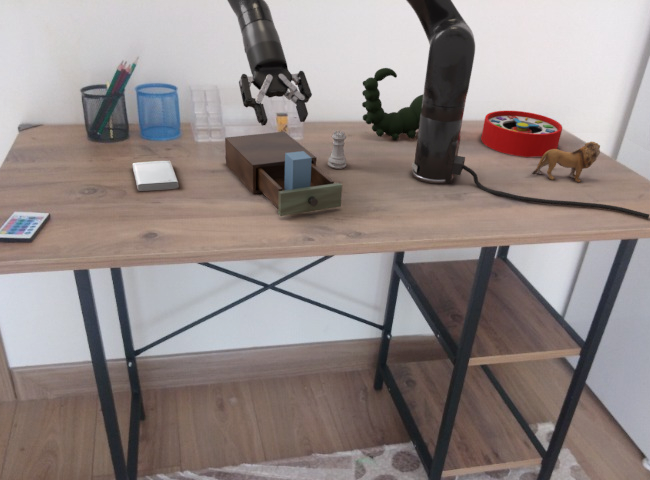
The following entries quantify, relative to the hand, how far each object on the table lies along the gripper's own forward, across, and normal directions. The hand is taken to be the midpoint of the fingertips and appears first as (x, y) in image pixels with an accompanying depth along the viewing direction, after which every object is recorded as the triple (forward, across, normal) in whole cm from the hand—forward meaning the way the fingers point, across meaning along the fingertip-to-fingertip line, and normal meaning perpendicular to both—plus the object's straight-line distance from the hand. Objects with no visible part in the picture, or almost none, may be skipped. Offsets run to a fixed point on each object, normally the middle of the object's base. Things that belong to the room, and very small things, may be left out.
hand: (284, 121), depth 130 cm
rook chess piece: (+5, +17, +16) cm, 24 cm away
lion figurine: (+21, +66, -1) cm, 69 cm away
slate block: (+14, 0, +4) cm, 14 cm away
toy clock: (+5, +71, +15) cm, 73 cm away
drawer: (+14, 0, +5) cm, 15 cm away
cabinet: (+5, 0, +16) cm, 16 cm away
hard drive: (+1, -24, +20) cm, 31 cm away
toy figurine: (-5, +44, +25) cm, 51 cm away
